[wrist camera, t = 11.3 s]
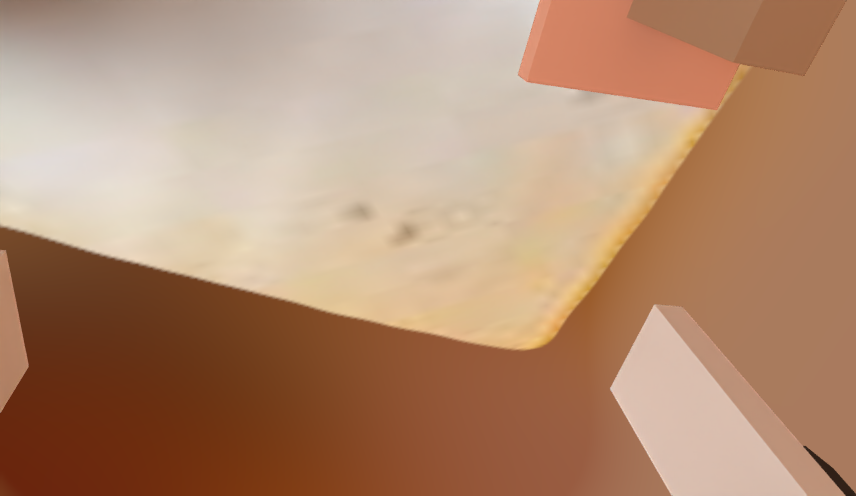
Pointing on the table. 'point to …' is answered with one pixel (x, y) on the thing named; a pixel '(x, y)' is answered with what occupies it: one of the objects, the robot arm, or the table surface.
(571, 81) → the pink plate with block
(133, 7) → the table surface
